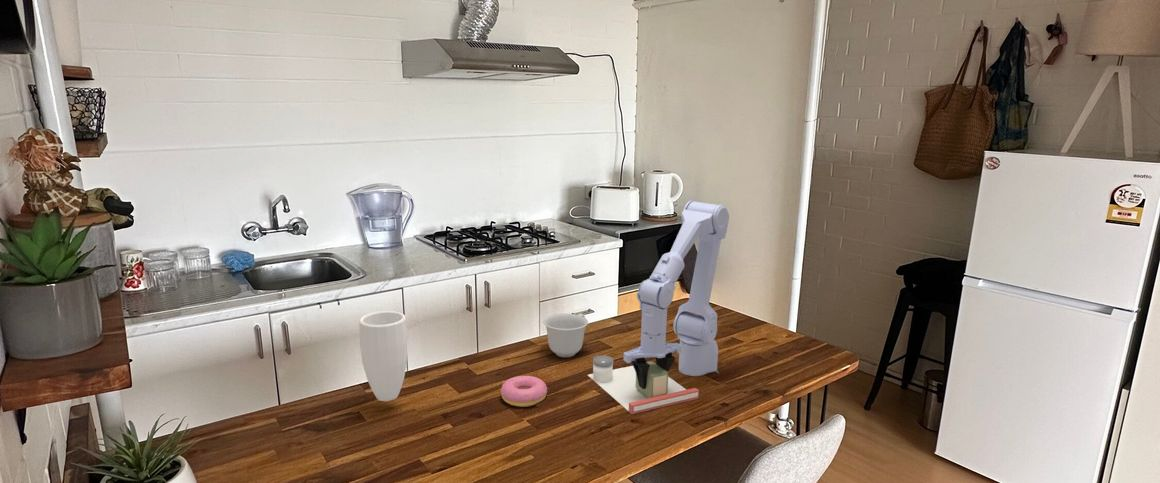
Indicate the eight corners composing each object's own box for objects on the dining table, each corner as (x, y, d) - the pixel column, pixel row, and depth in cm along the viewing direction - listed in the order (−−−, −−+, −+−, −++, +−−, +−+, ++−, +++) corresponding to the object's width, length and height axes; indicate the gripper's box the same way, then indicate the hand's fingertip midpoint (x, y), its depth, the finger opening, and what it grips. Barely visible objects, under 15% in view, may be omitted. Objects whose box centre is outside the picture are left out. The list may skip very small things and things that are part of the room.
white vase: (420, 401, 148) (416, 313, 143) (394, 423, 139) (388, 329, 134) (382, 394, 152) (377, 307, 147) (353, 415, 142) (347, 322, 137)
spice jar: (606, 372, 163) (607, 354, 162) (616, 380, 159) (617, 361, 158) (589, 376, 161) (589, 357, 160) (598, 384, 157) (598, 365, 155)
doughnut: (516, 384, 158) (516, 368, 157) (555, 394, 154) (555, 377, 153) (491, 403, 149) (491, 386, 148) (532, 414, 144) (532, 396, 143)
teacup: (601, 349, 179) (602, 315, 177) (571, 368, 167) (572, 332, 165) (565, 340, 186) (565, 307, 183) (534, 358, 173) (534, 322, 171)
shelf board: (648, 365, 170) (648, 355, 169) (698, 401, 150) (699, 390, 150) (587, 377, 162) (587, 367, 161) (632, 417, 143) (632, 406, 142)
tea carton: (635, 387, 154) (636, 364, 153) (651, 384, 156) (652, 361, 155) (651, 400, 148) (652, 376, 147) (667, 396, 150) (668, 372, 148)
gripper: (635, 342, 142) (633, 398, 145) (689, 332, 148) (686, 386, 151) (619, 331, 148) (618, 385, 151) (672, 322, 154) (669, 374, 157)
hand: (651, 385), depth 152 cm, fingers closed on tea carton, 4 cm apart
